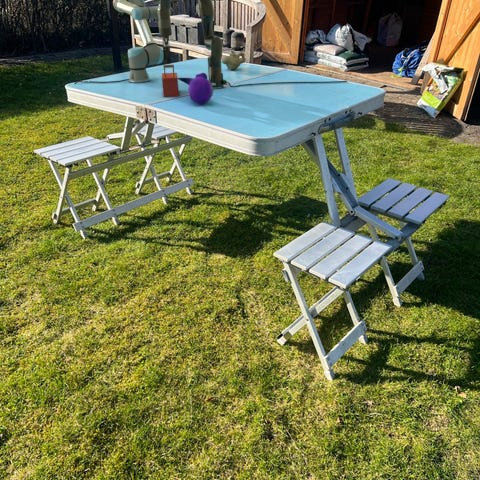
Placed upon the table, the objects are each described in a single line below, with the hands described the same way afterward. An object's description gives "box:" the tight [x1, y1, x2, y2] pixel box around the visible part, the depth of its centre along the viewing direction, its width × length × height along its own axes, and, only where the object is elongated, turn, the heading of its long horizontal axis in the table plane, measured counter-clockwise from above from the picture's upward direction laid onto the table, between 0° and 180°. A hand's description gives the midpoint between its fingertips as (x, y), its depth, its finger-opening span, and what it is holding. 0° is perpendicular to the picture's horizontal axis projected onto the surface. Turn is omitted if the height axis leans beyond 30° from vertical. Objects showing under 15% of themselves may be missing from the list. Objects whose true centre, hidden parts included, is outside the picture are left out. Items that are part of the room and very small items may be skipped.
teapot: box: [221, 49, 246, 71], centre depth 371 cm, size 21×12×15 cm, turn 120°
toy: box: [178, 72, 214, 105], centre depth 275 cm, size 16×18×27 cm
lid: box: [161, 64, 179, 81], centre depth 292 cm, size 18×10×8 cm, turn 8°
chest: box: [161, 79, 180, 98], centre depth 297 cm, size 17×10×11 cm, turn 8°
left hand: (167, 61), depth 321 cm, fingers open, 13 cm apart
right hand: (167, 55), depth 282 cm, fingers open, 8 cm apart
